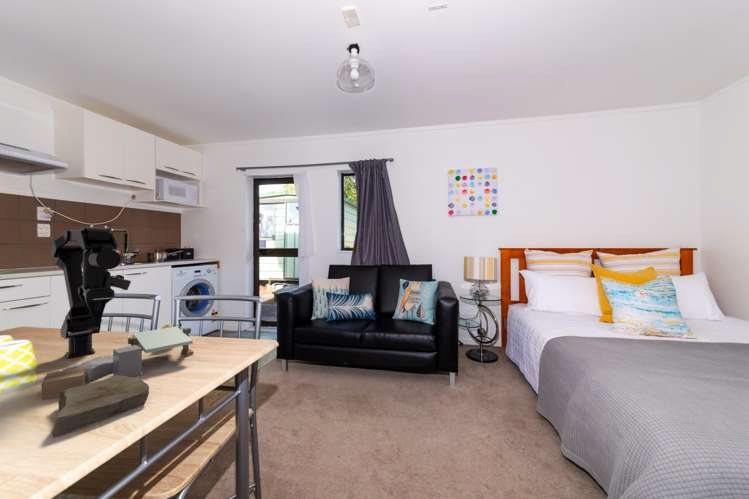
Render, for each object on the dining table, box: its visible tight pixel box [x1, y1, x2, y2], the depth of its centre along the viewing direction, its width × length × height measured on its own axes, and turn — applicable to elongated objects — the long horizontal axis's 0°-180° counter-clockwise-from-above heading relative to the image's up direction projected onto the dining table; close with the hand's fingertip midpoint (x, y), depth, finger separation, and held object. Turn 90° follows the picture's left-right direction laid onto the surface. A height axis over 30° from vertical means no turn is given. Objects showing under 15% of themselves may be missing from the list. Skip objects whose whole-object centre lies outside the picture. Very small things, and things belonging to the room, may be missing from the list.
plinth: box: [41, 367, 87, 401], centre depth 76 cm, size 7×7×4 cm
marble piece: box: [51, 376, 150, 437], centre depth 68 cm, size 17×15×4 cm
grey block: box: [112, 345, 143, 378], centre depth 85 cm, size 5×5×8 cm
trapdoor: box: [132, 326, 194, 354], centre depth 97 cm, size 15×12×5 cm
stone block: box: [62, 354, 113, 383], centre depth 87 cm, size 12×5×10 cm
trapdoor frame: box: [127, 327, 194, 357], centre depth 98 cm, size 5×17×8 cm, turn 139°
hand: (95, 319), depth 96 cm, fingers open, 9 cm apart
